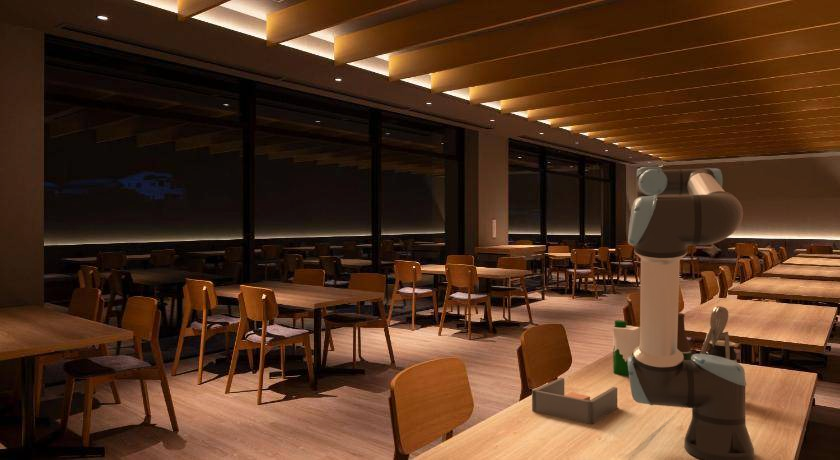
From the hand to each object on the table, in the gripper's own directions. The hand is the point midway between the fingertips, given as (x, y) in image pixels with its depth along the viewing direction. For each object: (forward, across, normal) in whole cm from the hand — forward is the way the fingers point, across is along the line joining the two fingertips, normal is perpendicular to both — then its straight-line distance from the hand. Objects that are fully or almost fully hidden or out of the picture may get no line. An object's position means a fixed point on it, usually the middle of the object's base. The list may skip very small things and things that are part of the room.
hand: (649, 291), depth 176 cm
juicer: (+34, -7, +14) cm, 37 cm away
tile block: (+35, +22, -15) cm, 44 cm away
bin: (+34, +22, -15) cm, 44 cm away
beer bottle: (+35, -32, 0) cm, 47 cm away
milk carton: (+35, -27, -17) cm, 47 cm away
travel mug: (+35, -16, +17) cm, 42 cm away
